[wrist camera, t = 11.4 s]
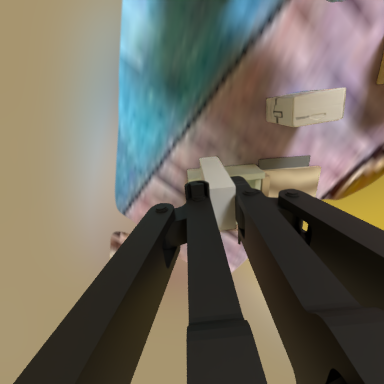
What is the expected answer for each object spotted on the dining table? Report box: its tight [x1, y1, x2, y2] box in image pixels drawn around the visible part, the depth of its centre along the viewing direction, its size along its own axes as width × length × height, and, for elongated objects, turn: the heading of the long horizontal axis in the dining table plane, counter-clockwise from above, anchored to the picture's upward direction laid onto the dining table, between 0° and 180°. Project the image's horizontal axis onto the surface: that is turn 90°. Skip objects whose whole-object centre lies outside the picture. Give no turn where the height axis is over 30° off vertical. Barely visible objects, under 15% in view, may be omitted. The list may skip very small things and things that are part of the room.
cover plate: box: [260, 166, 321, 197], centre depth 47 cm, size 9×15×4 cm, turn 94°
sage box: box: [187, 164, 265, 224], centre depth 46 cm, size 12×16×7 cm
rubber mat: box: [258, 155, 310, 170], centre depth 49 cm, size 14×12×1 cm
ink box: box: [266, 88, 346, 127], centre depth 37 cm, size 9×5×12 cm, turn 100°
